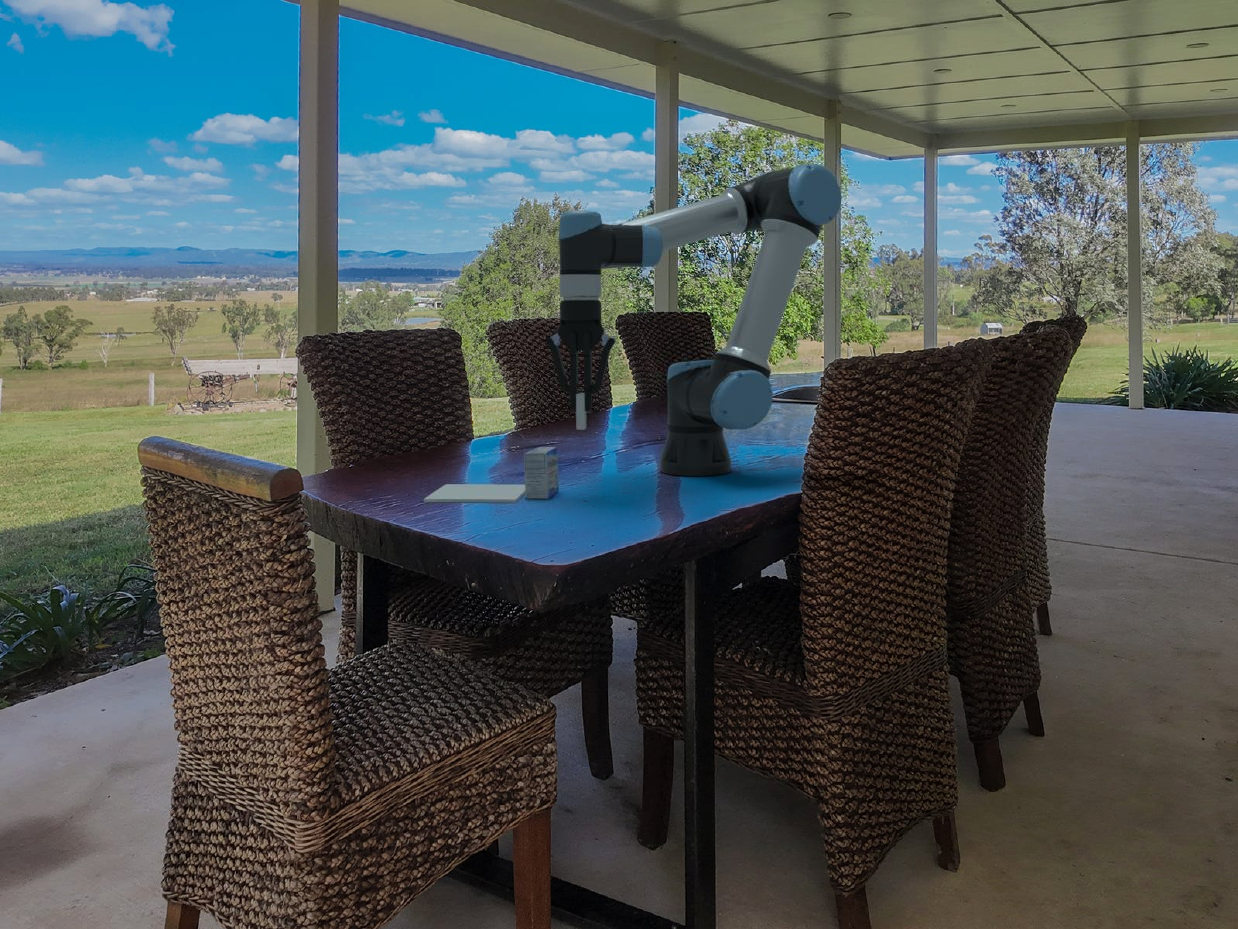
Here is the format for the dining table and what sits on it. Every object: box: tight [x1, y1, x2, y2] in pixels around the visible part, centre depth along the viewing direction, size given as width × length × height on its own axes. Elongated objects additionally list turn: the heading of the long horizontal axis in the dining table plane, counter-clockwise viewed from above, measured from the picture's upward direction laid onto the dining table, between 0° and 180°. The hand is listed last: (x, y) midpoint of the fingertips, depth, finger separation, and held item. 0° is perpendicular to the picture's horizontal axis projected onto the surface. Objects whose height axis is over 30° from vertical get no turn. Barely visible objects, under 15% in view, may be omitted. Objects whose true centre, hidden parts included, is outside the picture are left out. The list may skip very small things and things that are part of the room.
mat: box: [423, 483, 526, 504], centre depth 192 cm, size 17×15×1 cm
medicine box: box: [523, 446, 560, 500], centre depth 190 cm, size 8×4×9 cm, turn 168°
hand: (581, 428), depth 187 cm, fingers closed
